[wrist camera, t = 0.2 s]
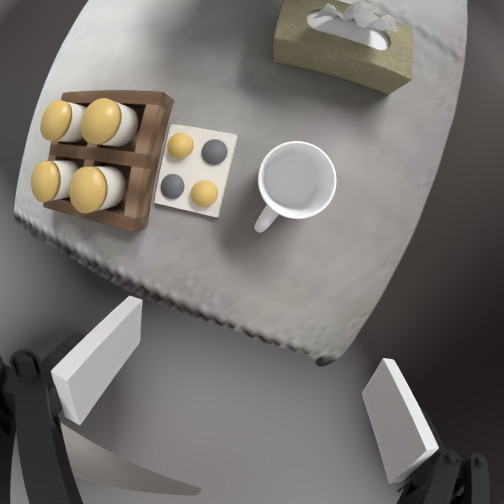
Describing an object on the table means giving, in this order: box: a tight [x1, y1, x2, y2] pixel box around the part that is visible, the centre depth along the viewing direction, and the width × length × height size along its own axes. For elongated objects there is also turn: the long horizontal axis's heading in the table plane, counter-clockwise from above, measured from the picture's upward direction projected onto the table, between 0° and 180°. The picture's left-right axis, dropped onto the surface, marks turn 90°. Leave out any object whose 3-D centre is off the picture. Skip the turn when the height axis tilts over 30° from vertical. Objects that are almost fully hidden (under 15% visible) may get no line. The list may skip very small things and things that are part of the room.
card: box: [154, 124, 238, 218], centre depth 37 cm, size 12×10×2 cm
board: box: [43, 90, 174, 232], centre depth 36 cm, size 20×20×5 cm
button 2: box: [31, 161, 79, 202], centre depth 32 cm, size 6×6×6 cm
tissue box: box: [273, 0, 413, 95], centre depth 24 cm, size 19×10×16 cm, turn 78°
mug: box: [255, 141, 336, 232], centre depth 33 cm, size 12×8×10 cm
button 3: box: [80, 98, 139, 147], centre depth 30 cm, size 6×6×6 cm
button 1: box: [41, 100, 87, 142], centre depth 30 cm, size 6×6×6 cm
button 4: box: [69, 167, 126, 213], centre depth 32 cm, size 6×6×6 cm
